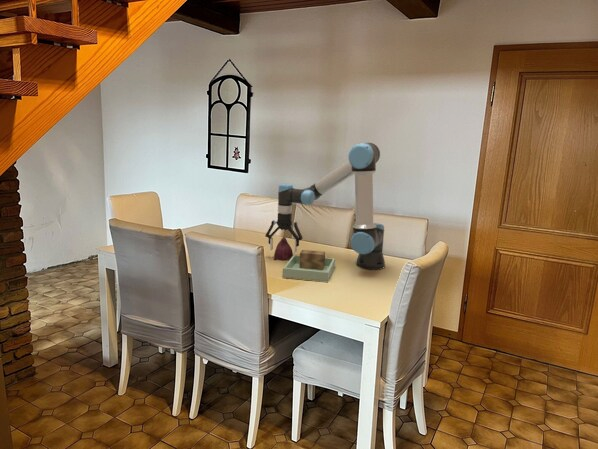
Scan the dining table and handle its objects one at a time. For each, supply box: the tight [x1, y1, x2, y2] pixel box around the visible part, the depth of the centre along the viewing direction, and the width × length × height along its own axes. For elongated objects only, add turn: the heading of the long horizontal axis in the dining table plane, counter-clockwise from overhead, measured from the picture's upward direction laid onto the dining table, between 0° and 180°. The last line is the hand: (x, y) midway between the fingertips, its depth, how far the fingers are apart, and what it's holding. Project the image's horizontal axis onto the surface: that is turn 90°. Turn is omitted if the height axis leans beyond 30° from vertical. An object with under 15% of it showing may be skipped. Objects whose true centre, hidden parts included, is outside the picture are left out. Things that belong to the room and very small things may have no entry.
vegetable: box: [273, 236, 294, 262], centre depth 250 cm, size 10×10×15 cm
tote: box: [282, 254, 336, 284], centre depth 230 cm, size 22×24×5 cm
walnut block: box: [299, 249, 326, 270], centre depth 236 cm, size 12×6×8 cm, turn 78°
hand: (283, 250), depth 251 cm, fingers open, 13 cm apart
